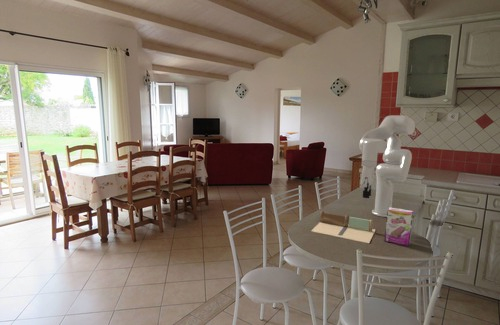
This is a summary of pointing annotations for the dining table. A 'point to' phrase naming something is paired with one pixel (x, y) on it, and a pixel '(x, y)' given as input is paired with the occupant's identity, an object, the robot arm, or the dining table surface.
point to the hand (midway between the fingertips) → (366, 196)
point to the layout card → (344, 232)
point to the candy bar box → (398, 226)
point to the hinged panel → (361, 223)
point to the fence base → (334, 219)
